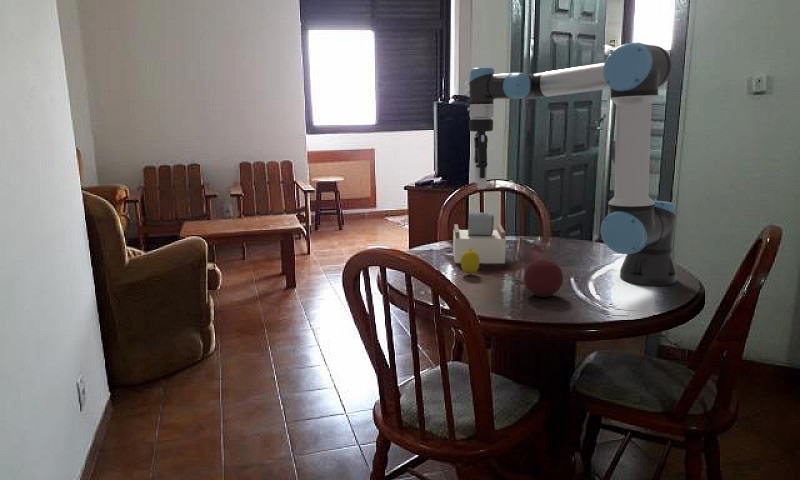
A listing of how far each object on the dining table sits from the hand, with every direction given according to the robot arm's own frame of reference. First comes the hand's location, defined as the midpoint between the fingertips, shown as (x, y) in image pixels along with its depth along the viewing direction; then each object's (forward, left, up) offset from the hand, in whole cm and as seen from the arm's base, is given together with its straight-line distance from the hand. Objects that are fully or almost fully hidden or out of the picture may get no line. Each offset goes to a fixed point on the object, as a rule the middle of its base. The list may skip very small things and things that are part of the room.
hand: (480, 185), depth 202 cm
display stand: (0, 0, -24) cm, 24 cm away
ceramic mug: (0, 0, -16) cm, 16 cm away
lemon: (-21, +4, -24) cm, 32 cm away
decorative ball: (-41, -14, -24) cm, 50 cm away
